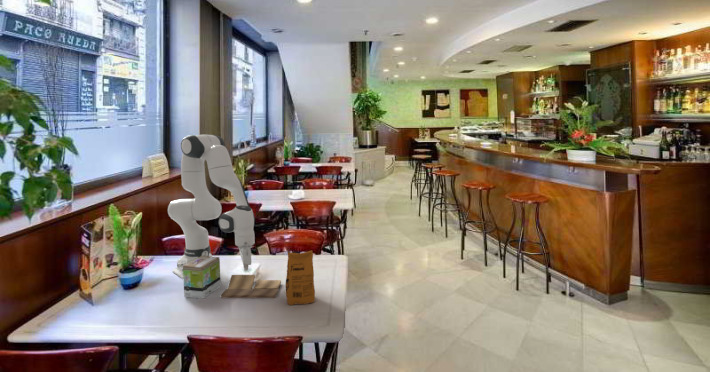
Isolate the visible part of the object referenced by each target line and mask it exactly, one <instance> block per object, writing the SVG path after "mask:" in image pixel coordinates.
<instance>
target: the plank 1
mask: <svg viewBox="0 0 710 372" xmlns="http://www.w3.org/2000/svg"><path fill="white" fill-rule="evenodd" d="M255 278H256V275H255V274H231V275H230V280H229V284H228V287H227V289H253V288H254V283H255Z"/></svg>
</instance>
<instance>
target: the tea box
mask: <svg viewBox="0 0 710 372" xmlns="http://www.w3.org/2000/svg"><path fill="white" fill-rule="evenodd" d="M220 261H221V260H220V256H212V257H210V256H200V257H198V258H197V259H195V260H193V261H191V262H189V263H187V264H185V265H184V266H183V279H182V280H183V295H184V298H191V299H205V298H206V297H208V296H209V295H211V293H213V292H214V291H216V290H217V289H219V288H220V287H221V285H222V284H221V262H220Z"/></svg>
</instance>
